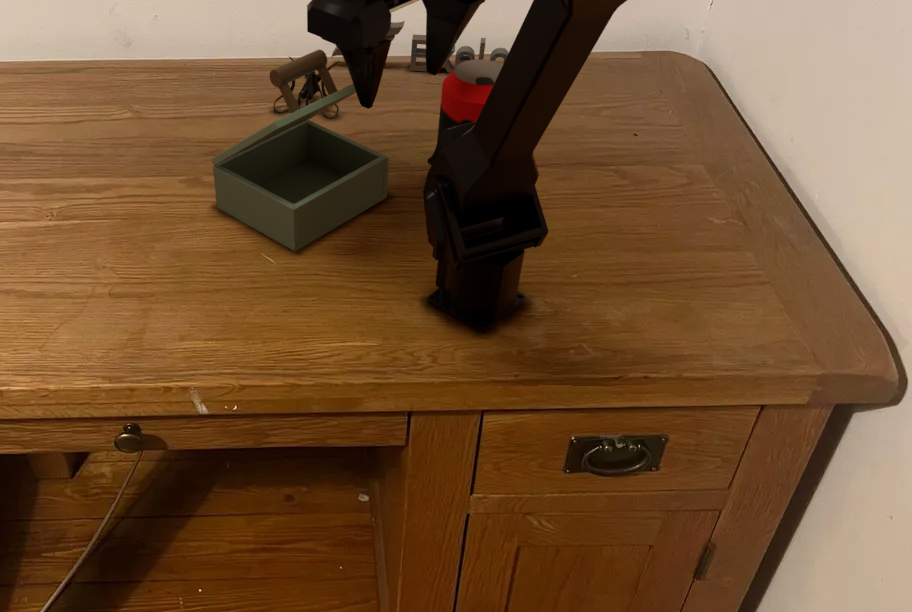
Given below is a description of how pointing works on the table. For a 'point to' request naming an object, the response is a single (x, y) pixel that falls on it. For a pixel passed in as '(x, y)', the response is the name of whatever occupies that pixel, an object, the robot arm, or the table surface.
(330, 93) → the lid
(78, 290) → the table surface
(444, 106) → the soda can
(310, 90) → the creature
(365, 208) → the compartment
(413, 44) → the extruded letter logo
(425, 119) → the table surface
